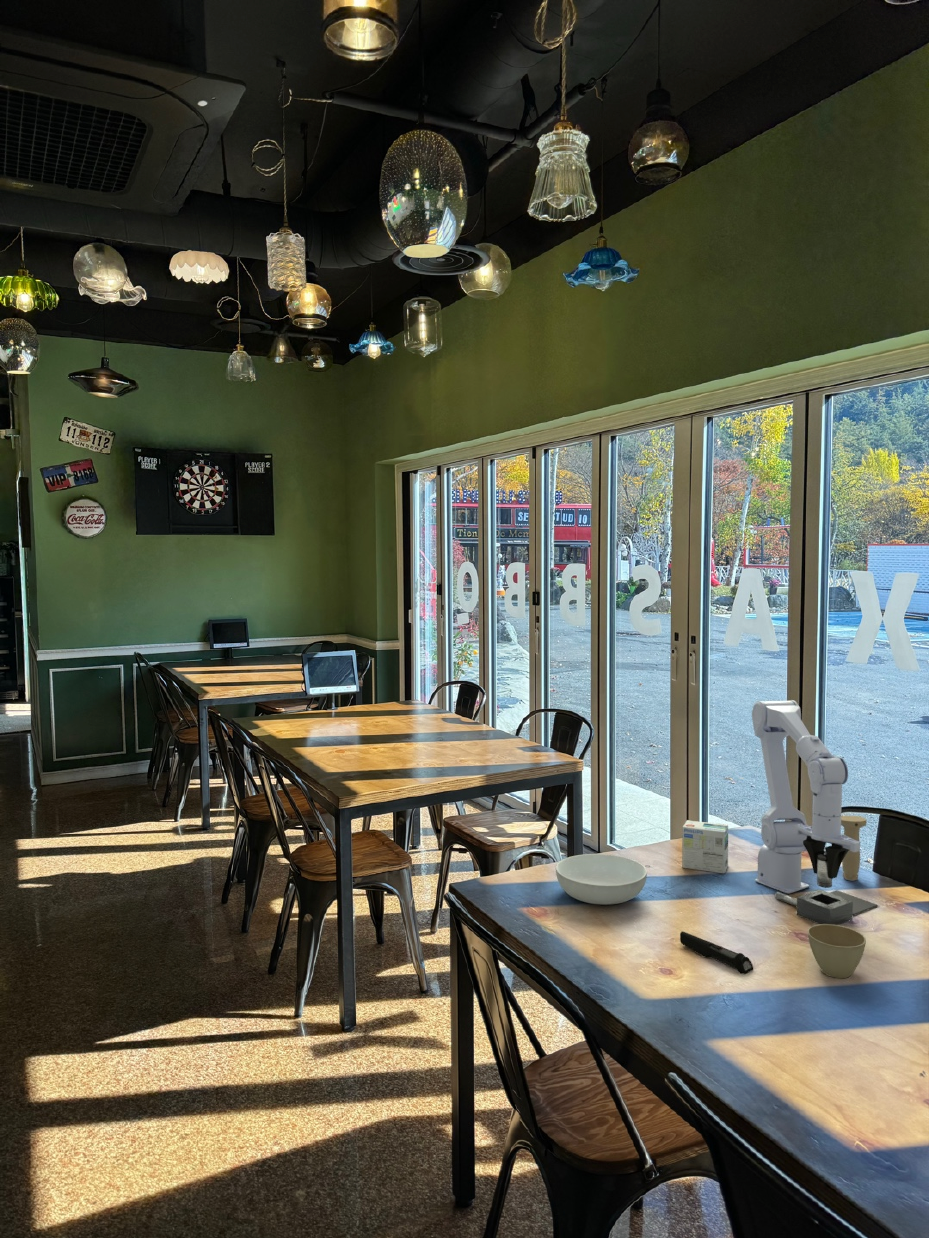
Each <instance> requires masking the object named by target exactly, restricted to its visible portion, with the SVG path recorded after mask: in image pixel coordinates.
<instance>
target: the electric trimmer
mask: <svg viewBox="0 0 929 1238" xmlns="http://www.w3.org/2000/svg"><path fill="white" fill-rule="evenodd" d="M679 938H680V939H679V942H680V943H681V945H683V946H685V947H686V948H688V949H690V951H693V952H694V953H696V954H699V955H700V956H701V957H704V958H711V959H714V960H716V961H718V962H720V963H722V964H724V965H727V966H728V967H730V968H733V969H736V970H737V973H739V974H743V975H747V974H748V973H750V972H752V971H753V970H754V965H753V963H752V961H751V959H750V958H749V957H748V956H745V954H743V953H742V952H735V951H732V950H731V949H727V948H726V947H723V946H721V945H718V944H716V943H714V942H712V941H708V940H706V939H703V938H701V937H699V936H696V935H694V934H690V933H688V932H685V931H680V933H679Z"/></svg>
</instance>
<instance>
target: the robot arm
mask: <svg viewBox="0 0 929 1238" xmlns="http://www.w3.org/2000/svg"><path fill="white" fill-rule="evenodd" d="M801 710H802V709H801V707H800V706H799V704H798V702H797V701H796V700H793V699H790V700H773V701H772V700H770V701H769V700H768V701H767V700H765V701H763V700H762V701H761V700H757V701H756V702H755V703H754V705H753V707H752V710H751V719H752V721H751V722H752V726H753V731H754V736H755V737H757V738H759V739H760V745H761V751H762V758H763V763H764V770H765V776H766V783H767V789H768V795H769V801H770V807H769V809H768V810H767V811H766V812H765V813H764V814H763V815H762V817H761V819H760V820H761V821H760V822H761V831H760V833H761V834H760V836H761V840H762V842H763V845H761V847H760V848H759V849H758V853H757V854H758V855H757V878H755V880H754V881H755V882H756V883H759V884H761V885H764V886H766V887H769V888H772V889H774V890H777V891H778V892H781V893H782V892H783V893H784V894H786V895H787V894H792V893H796V892H798V891H801V890H804V889H807V888H809V887H810V885H809V884H808V883H805V882H802V859H803V858H802V855H803V854H802V852H805V851H807V853H808V856H809V859H810V862H811V867H812V870H813V874H816V875H817V852H818V851H826V854H827V859H828V877H829V878H830V879H832V880H833V879H837V878H838V874H839V872H840V868H841V866H842V861H843V859H844V857H845V855H846V854H847V852H848V851H849V850H850V851H852V852H857V851H860V852H861V841H860V840H859V841H856V840H854V839H851V838H849V837H847V836H845V835H844V833H842V825H841V816H842V798H843V797H842V796H843V795H842V794H843V785H845V784H846V783H847V781H848V780H849V768H848V765H847V762H846V761H845V760H844V757H841V756H837V755H835V754H832V753H831V752H830V751H829V749H828V748H827V747H826V745H825V744H824V743H823V742H822V740H821V739H820V738H819V737H818V736H816V735H815V734H813V735H812V734H810V732H809V730H808V729H807V727H806V725H805V724H804V722H803V720H802V713H801V712H802V711H801ZM789 736H790V739H791V740H793V741H794V742H795V744H796V745H795V751H796V753H797V754H798V756H799V758H801V760H802V761H803V762H804V764H805V766H806V767H807V776H808V779H809V782H810V783H809V785H810V791H812V810H811V811H812V813H811V814H812V816H811V817H812V818H811V819H812V820H811V822H812V823H811V826H810V825H808V824H807V823H808V822H807V820H806V815H805V814H804V813H803V812H801V811H800V810H798V809H797V808H796V807H795V806H794V802H793V795H792V790H791V789H792V788H791V784H790V779H789V772H788V767H787V766H788V764H787V760H786V754H785V748H784V740H785V739H786V737H789ZM785 820H786V821H785ZM827 844H830V845H828V846H826V845H827ZM805 849H806V850H805Z"/></svg>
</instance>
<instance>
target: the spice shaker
mask: <svg viewBox="0 0 929 1238" xmlns="http://www.w3.org/2000/svg"><path fill="white" fill-rule="evenodd" d="M816 884H817V886H818V887H821V888H825V889H828V888H832V887H833V879H830V878H829V877H828V859H827V854H826V851H825V850H824V851H818V852H817V874H816Z"/></svg>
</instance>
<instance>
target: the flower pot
mask: <svg viewBox="0 0 929 1238" xmlns="http://www.w3.org/2000/svg"><path fill="white" fill-rule="evenodd" d="M807 936H808V937H807V938H808V942H809V946H810V950H811V952H812V955H813V957H814V959H815V962H816V963H817V965H818V967H819V968H820V970H821V972H822V973H823V974H825V975H826V976H829V977H832V978H837V979H846V978H848V977H850V976H851V975H852V974H853V973H854V971H855V970H856V969H857V968H858V966H859V964H860V962H861V960H862V958H863V955H864V952H865V948H866V942H867V939H866V936H864V934H862V933H861V932H860V931H857V930H856V929H853V928H850V927H847V926H843V925H840V924H839V925H832V924H815V925H812V926H810V927H809V928H808V929H807Z"/></svg>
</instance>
